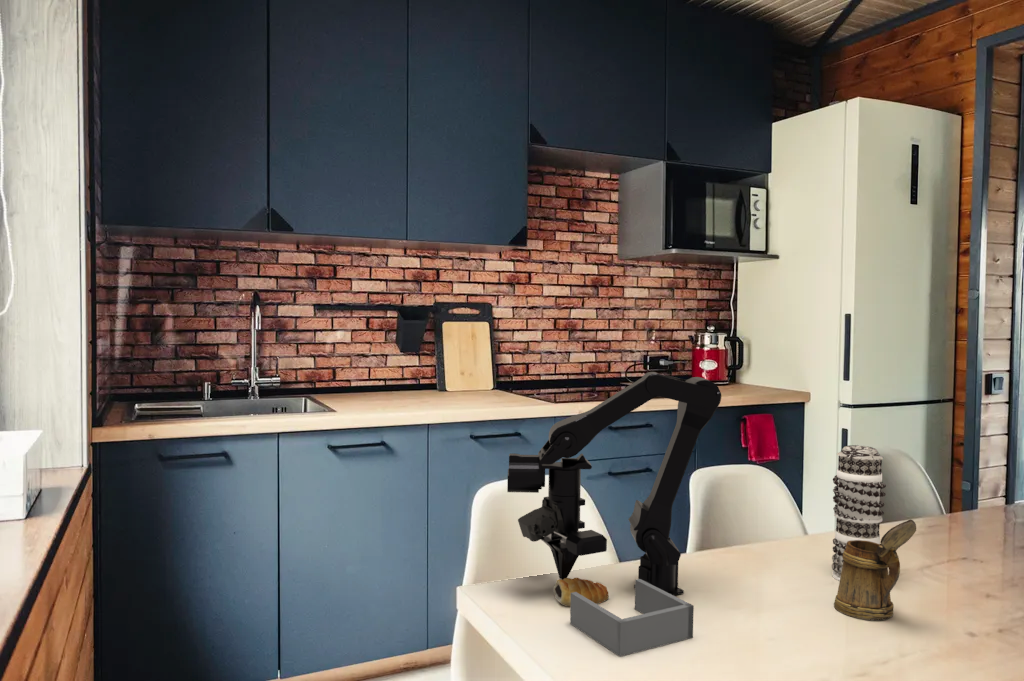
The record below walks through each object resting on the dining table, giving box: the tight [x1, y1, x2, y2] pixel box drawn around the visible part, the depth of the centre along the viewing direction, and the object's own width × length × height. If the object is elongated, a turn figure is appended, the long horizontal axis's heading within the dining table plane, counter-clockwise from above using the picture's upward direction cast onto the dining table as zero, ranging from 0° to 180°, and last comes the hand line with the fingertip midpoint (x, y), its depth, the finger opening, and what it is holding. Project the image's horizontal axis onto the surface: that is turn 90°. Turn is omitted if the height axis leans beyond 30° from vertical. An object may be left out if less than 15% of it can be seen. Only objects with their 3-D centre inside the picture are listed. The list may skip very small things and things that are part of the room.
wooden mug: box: [833, 519, 917, 621], centre depth 127 cm, size 9×14×18 cm, turn 20°
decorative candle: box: [831, 444, 887, 582], centre depth 145 cm, size 9×9×25 cm
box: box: [569, 578, 695, 657], centre depth 120 cm, size 14×13×5 cm
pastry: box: [552, 577, 609, 608], centre depth 133 cm, size 9×7×4 cm
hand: (563, 578), depth 137 cm, fingers closed
